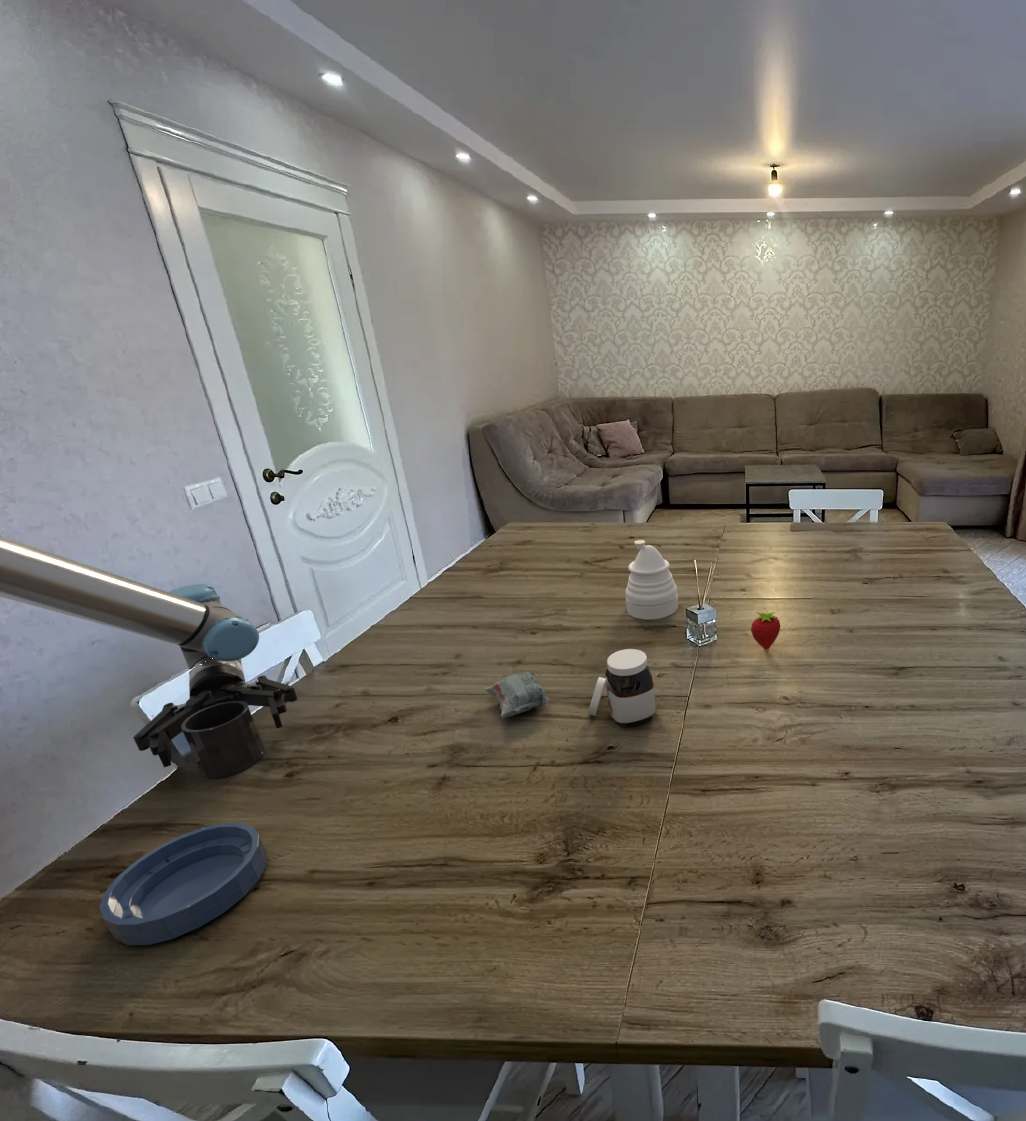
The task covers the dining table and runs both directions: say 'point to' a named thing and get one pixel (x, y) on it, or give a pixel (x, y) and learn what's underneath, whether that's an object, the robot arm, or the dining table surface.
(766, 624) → the strawberry
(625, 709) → the spread jar
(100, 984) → the dining table surface
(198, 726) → the coffee cup
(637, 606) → the honey pot
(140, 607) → the robot arm
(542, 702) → the packaged food
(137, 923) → the plate
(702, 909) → the dining table surface
